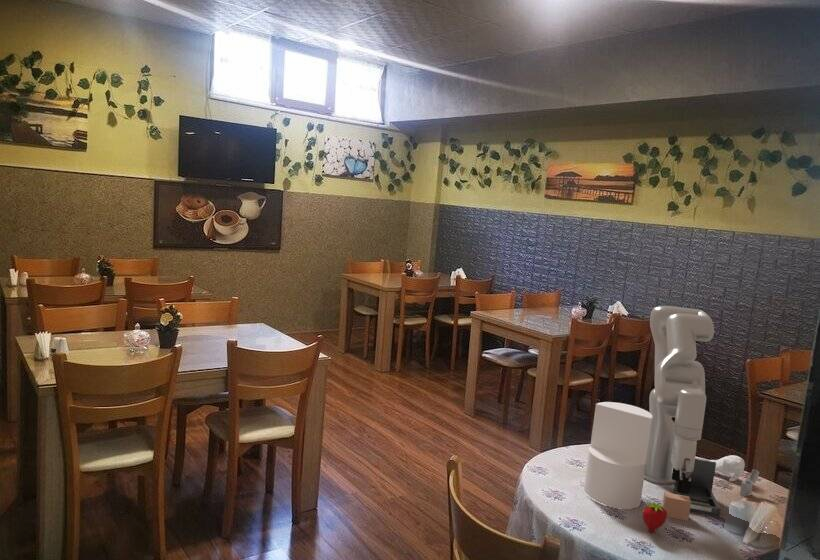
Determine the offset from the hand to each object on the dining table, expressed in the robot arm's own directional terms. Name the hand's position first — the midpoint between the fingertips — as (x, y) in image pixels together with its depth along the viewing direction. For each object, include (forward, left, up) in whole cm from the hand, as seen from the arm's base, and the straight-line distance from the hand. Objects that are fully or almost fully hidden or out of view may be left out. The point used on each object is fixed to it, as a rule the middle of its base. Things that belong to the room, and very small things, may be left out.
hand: (679, 486), depth 182 cm
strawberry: (-8, -13, -10) cm, 18 cm away
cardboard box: (0, +1, -10) cm, 10 cm away
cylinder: (-18, +6, -10) cm, 21 cm away
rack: (+8, +13, -10) cm, 18 cm away
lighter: (+27, +29, -10) cm, 41 cm away
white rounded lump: (+22, +41, -10) cm, 47 cm away
